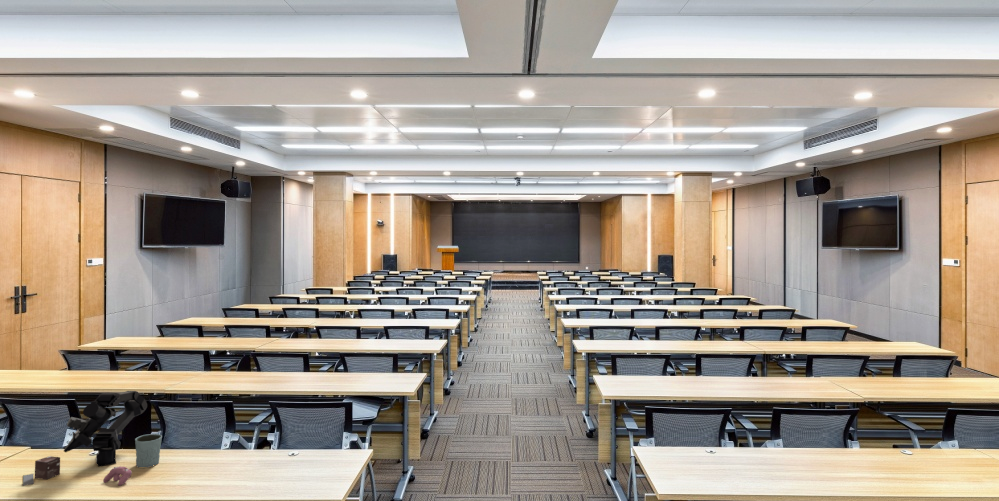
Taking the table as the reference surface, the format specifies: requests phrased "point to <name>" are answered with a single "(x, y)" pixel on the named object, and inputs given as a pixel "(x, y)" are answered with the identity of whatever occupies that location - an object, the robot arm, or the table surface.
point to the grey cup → (148, 450)
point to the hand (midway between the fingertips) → (64, 451)
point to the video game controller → (118, 475)
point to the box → (47, 467)
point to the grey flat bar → (28, 479)
